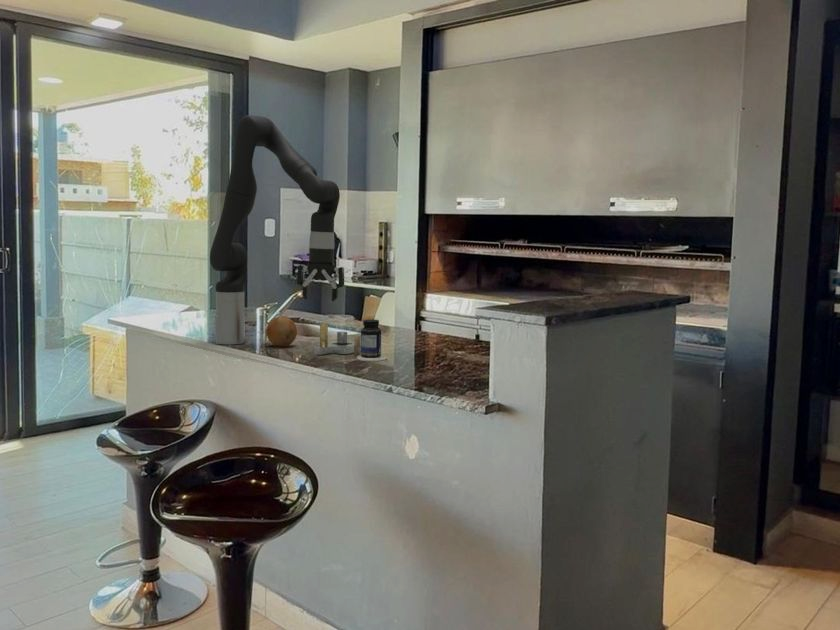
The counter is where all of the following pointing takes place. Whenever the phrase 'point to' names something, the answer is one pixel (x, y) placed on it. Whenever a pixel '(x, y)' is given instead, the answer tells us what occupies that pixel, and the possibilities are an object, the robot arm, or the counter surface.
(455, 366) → the counter surface
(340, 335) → the post
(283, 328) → the onion
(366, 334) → the pill bottle
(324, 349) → the grey plate with post
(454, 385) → the counter surface
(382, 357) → the coaster
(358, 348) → the dowel
